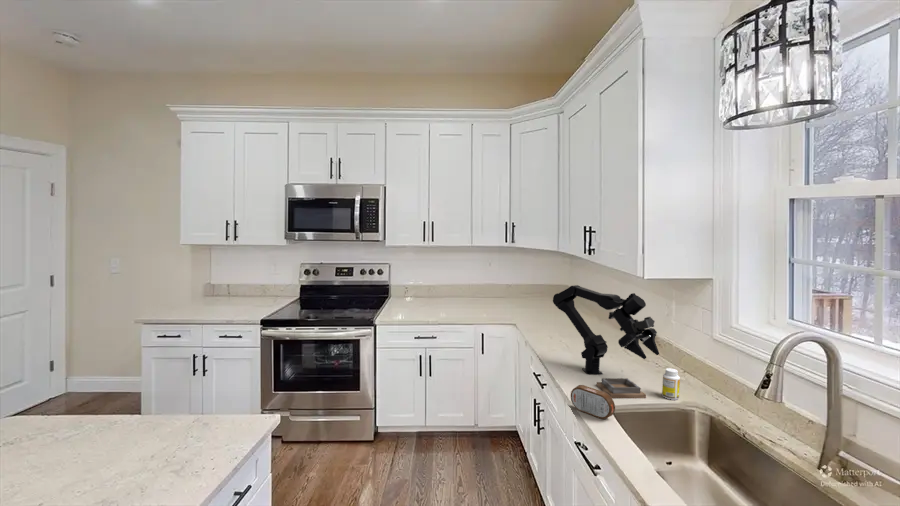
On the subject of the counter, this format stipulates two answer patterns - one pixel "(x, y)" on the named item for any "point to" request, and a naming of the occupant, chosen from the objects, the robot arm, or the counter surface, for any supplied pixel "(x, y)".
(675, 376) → the supplement bottle
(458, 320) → the counter surface
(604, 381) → the collar base
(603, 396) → the tin
